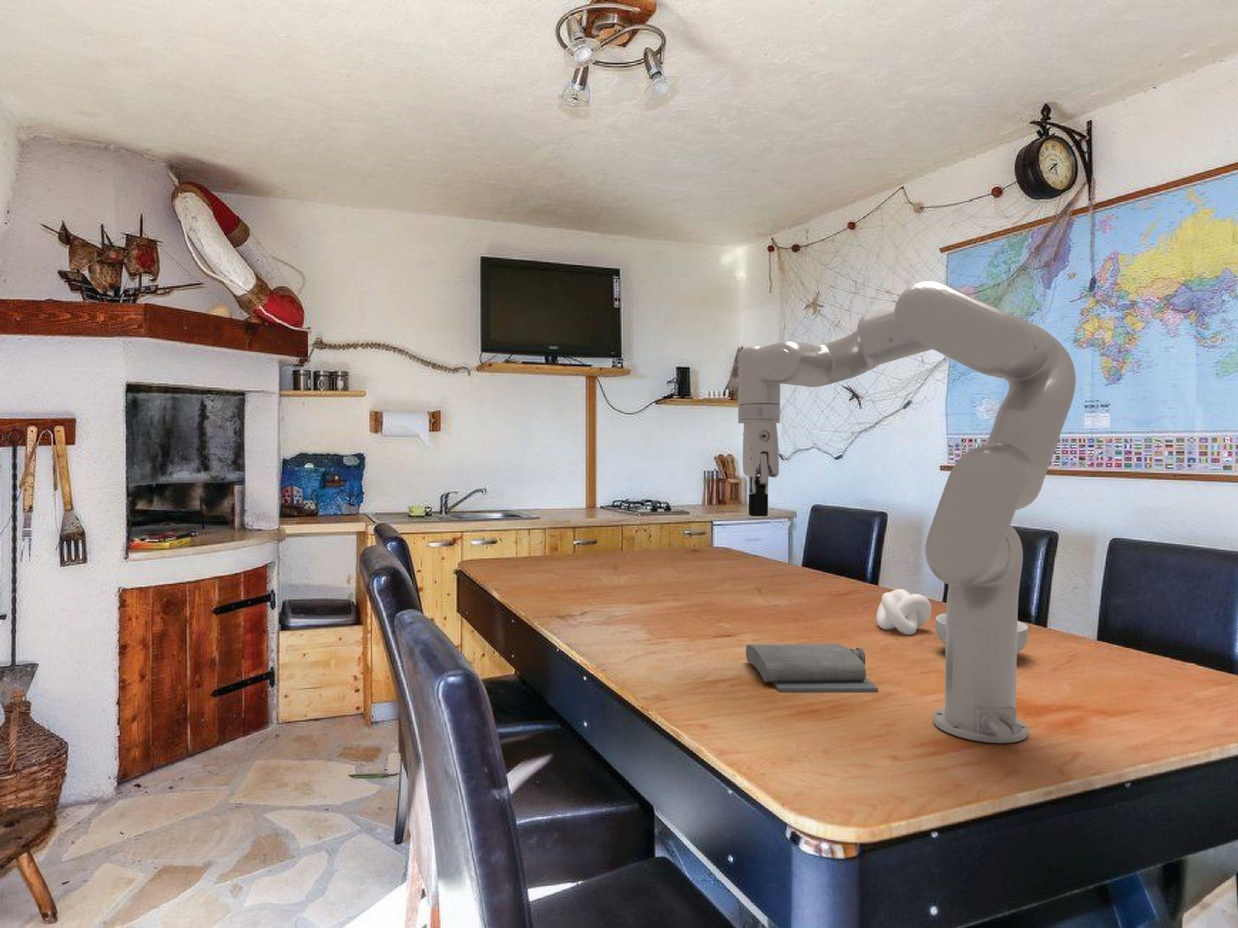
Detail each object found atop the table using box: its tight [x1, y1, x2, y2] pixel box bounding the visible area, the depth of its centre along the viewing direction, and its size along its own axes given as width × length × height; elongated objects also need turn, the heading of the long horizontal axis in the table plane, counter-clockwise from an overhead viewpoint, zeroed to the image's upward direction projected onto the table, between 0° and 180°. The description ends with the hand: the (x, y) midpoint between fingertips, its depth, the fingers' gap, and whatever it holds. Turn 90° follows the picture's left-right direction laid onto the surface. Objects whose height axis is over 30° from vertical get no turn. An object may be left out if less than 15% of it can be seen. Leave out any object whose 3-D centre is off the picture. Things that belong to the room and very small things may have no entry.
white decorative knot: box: [875, 588, 932, 636], centre depth 174 cm, size 11×12×9 cm
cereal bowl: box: [935, 613, 1029, 654], centre depth 153 cm, size 17×17×7 cm
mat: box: [771, 677, 879, 693], centre depth 139 cm, size 20×17×1 cm
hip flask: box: [745, 643, 867, 683], centre depth 140 cm, size 16×4×20 cm
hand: (758, 515), depth 139 cm, fingers closed
